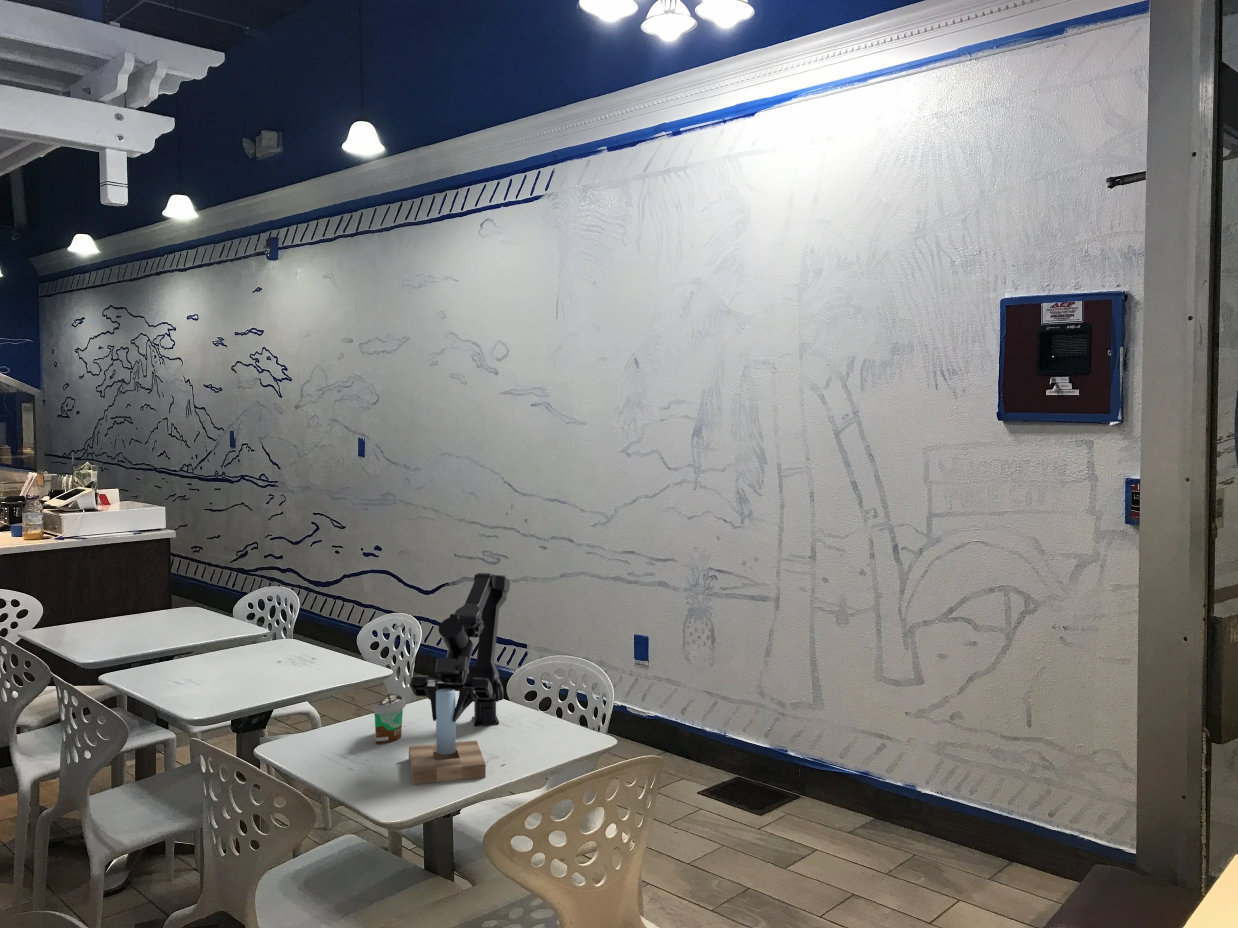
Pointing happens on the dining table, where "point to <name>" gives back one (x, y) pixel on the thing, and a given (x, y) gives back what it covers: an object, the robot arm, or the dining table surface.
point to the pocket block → (446, 763)
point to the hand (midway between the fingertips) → (443, 720)
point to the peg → (445, 721)
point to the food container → (389, 718)
